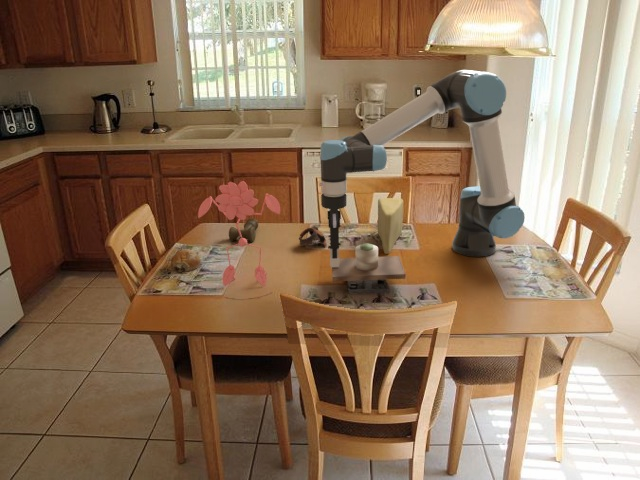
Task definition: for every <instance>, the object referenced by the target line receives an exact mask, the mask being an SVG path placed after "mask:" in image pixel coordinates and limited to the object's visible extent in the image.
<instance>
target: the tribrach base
mask: <svg viewBox="0 0 640 480" xmlns="http://www.w3.org/2000/svg"><path fill="white" fill-rule="evenodd" d="M347 289H348V290H349V291H348V294H349V293H366V294H389V287H388V282H387V279H383V280H357V281H347Z"/></svg>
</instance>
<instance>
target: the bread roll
mask: <svg viewBox="0 0 640 480" xmlns="http://www.w3.org/2000/svg"><path fill="white" fill-rule="evenodd" d="M170 261H171V262H170V266H171V269H172V270H173V271H175V272H179V273H185V272H190V271H191V272H192V271H195V270H196V269H198V268H200V267H201V264H202V262H201V261H202V260H201V258H200V255H199V254H198V252H196V251H194V250H192V249H189V248H188V249H187V248H183V249H181V250H179V251H178V252H176V253H175V254H174V255H173V256H172V258H171V260H170Z"/></svg>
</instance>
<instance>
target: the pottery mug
mask: <svg viewBox="0 0 640 480" xmlns="http://www.w3.org/2000/svg"><path fill="white" fill-rule="evenodd" d="M308 233H309V234H310V236H309V237H307V238H304V239H303V237H304V236H305V235H307V234H308ZM298 240H299V246H300V247H305V246H309V245H312V246H313V245H314V243H313V242H314V241H319V242H320V244H323V245H324V249H325V248H328V246H327V245H328V244H327V241H326V237H325V236H324V234H323V233H322V231H320V230H319V227H317V226H311V227H307V228H305V229H304V230H303V231H301V232H300V234H299V238H298Z"/></svg>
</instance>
